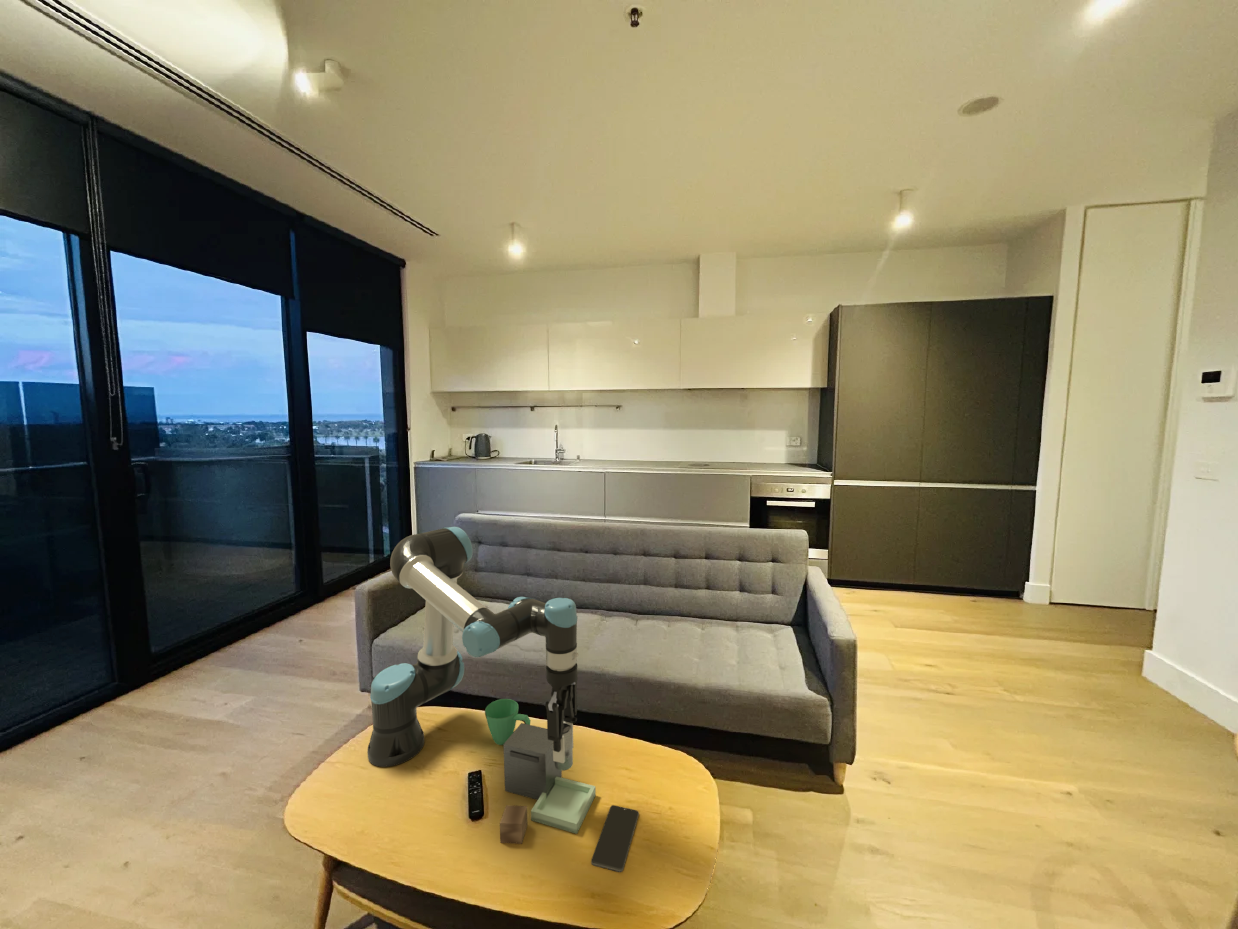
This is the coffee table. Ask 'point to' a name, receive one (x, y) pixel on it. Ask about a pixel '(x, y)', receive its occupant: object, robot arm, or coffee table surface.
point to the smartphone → (615, 838)
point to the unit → (529, 762)
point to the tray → (564, 805)
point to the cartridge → (566, 749)
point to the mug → (503, 719)
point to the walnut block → (513, 824)
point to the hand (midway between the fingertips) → (563, 754)
